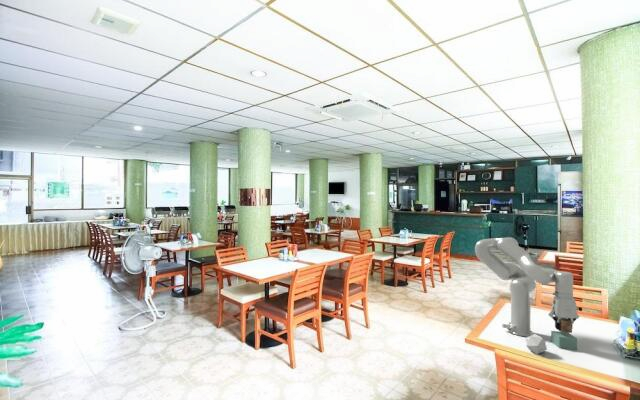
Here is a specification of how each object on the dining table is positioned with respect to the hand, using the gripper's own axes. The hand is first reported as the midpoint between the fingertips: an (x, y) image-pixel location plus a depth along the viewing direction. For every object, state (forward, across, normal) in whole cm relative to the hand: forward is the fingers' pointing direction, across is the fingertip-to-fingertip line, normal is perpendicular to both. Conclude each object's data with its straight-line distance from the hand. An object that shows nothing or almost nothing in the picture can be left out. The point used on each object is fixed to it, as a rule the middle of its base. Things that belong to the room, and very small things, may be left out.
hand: (563, 329), depth 167 cm
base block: (+9, 0, 0) cm, 9 cm away
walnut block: (+1, 0, 0) cm, 1 cm away
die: (+9, -19, -9) cm, 23 cm away
